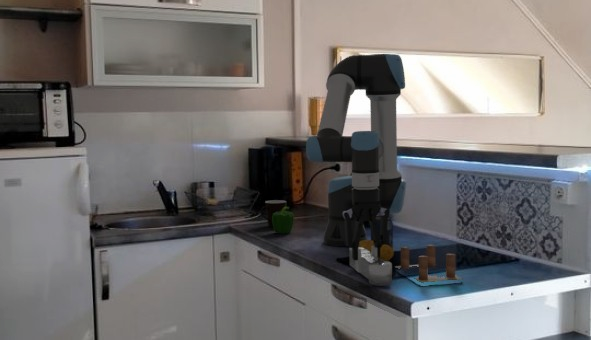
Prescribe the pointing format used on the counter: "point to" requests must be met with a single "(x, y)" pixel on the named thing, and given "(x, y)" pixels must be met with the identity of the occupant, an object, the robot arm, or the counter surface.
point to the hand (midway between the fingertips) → (366, 270)
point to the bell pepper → (283, 221)
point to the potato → (385, 250)
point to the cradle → (429, 265)
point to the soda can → (389, 231)
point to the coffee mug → (273, 209)
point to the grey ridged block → (373, 268)
